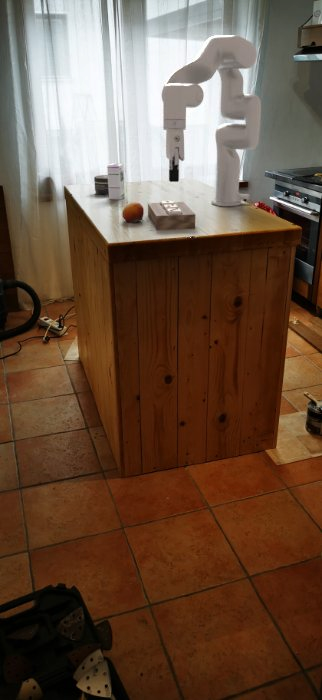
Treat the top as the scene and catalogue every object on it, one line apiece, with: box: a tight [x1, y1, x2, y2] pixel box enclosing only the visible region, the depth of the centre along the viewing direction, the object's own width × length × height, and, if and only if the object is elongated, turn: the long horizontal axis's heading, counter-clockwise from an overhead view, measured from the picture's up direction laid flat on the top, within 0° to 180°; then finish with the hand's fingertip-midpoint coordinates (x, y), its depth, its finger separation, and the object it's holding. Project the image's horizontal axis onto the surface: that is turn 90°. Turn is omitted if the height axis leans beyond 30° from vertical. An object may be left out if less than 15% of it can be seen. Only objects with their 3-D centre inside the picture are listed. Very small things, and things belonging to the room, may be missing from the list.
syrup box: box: [106, 162, 125, 200], centre depth 246 cm, size 6×6×14 cm
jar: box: [93, 174, 109, 196], centre depth 257 cm, size 10×10×8 cm
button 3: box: [167, 208, 181, 215], centre depth 200 cm, size 4×4×2 cm
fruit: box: [122, 202, 145, 223], centre depth 209 cm, size 8×8×8 cm
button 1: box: [160, 200, 175, 206], centre depth 213 cm, size 4×4×2 cm
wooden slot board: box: [147, 201, 196, 231], centre depth 208 cm, size 14×22×5 cm, turn 9°
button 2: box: [164, 204, 178, 210], centre depth 206 cm, size 4×4×2 cm
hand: (173, 181), depth 195 cm, fingers closed
